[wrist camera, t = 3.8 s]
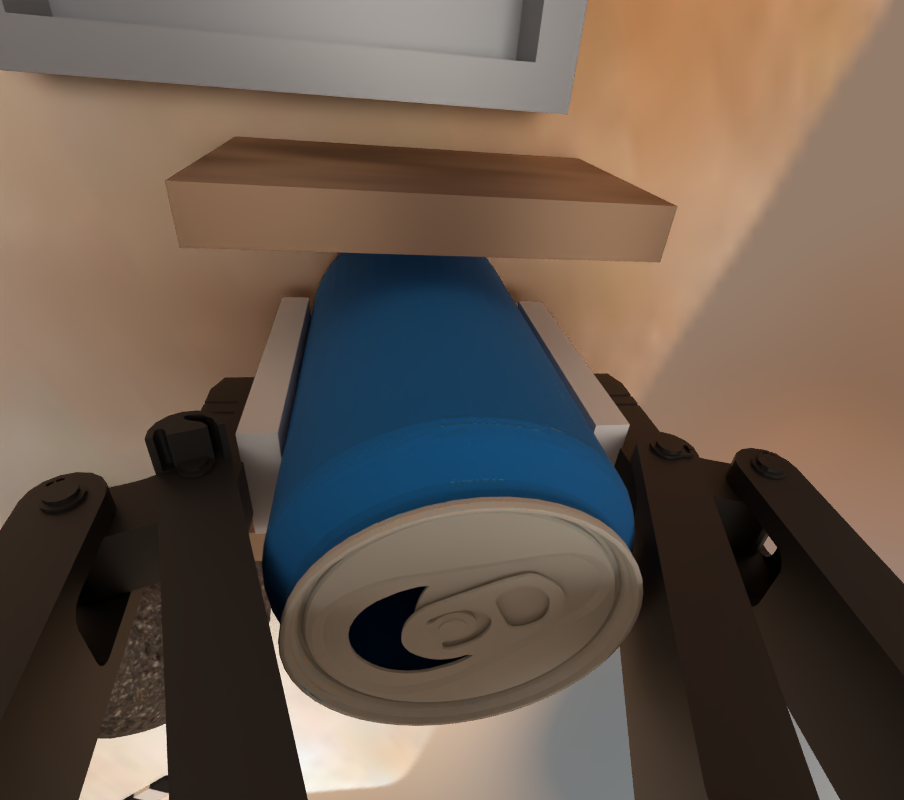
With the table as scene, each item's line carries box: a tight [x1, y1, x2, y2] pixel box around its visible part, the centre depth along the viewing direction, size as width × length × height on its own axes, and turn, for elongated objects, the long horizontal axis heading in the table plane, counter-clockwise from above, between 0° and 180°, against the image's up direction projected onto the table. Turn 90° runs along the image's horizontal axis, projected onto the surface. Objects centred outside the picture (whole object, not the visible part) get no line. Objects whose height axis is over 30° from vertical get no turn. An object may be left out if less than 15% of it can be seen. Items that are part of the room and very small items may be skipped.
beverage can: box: [262, 253, 643, 726], centre depth 13 cm, size 6×6×12 cm
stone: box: [98, 561, 271, 738], centre depth 21 cm, size 10×8×10 cm
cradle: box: [165, 137, 677, 561], centre depth 15 cm, size 10×10×6 cm
